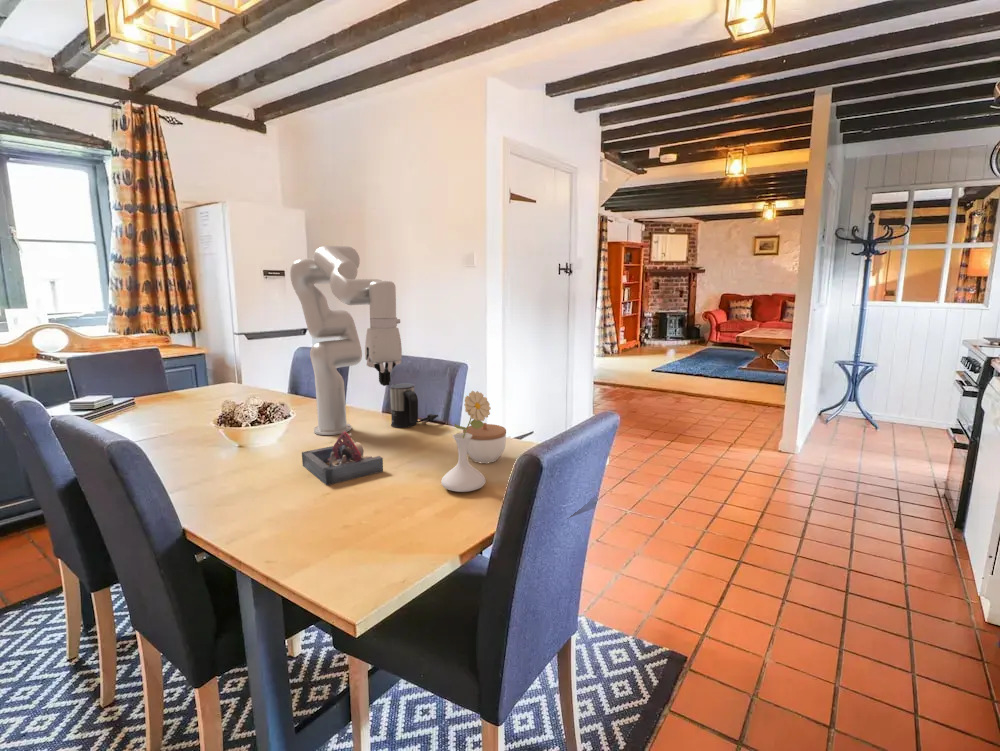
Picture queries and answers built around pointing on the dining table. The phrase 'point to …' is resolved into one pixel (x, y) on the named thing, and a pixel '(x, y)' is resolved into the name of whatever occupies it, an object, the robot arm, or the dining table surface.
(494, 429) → the lidded bowl
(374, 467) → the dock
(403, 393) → the milk frother
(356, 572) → the dining table surface
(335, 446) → the brake caliper
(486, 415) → the flower in vase
